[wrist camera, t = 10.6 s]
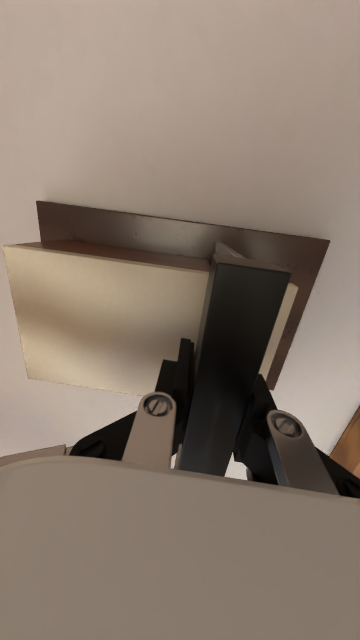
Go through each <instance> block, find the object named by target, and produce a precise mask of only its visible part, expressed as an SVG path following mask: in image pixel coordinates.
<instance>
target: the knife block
mask: <svg viewBox="0 0 360 640" xmlns="http://www.w3.org/2000/svg"><path fill="white" fill-rule="evenodd" d="M329 457H330V458H331V459H333V460H334V461H336V462H337V463H338V464H340V465H341V466H343V467H344V468H345V469H347V470H348V471H349V472H351V473H352V474H354V475H355V476H356V477H358V478H359V479H360V407H359V409H358V410H357V412H356V414H355V415H354V417H353V419H352V420H351V422H350V423H349V425H348V427H347V428H346V430H345V432H344V433H343V435H342V437H341V438H340V440H339V442H338V443H337V445H336V447H335V448H334V450H333V451H332V453H331V455H330V456H329Z"/></svg>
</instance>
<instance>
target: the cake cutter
mask: <svg viewBox="0 0 360 640" xmlns="http://www.w3.org/2000/svg"><path fill="white" fill-rule="evenodd" d="M290 277H291V273H290V272H289V271H287V270H285V269H283V268H281V267H279V266H277V265H275V264H273V263H271V262H268V261H261V260H254V259H247V258H245V257H243V256H242V255H240V254H239V253H237V252H236V251H234V250H233V249H231V248H230V247H228V246H227V245H225V244H224V243H222V242H216V248H215V253H214V254H213V256H212V260H211V266H210V272H209V277H208V283H207V288H206V294H205V299H204V305H203V311H202V316H201V322H200V327H199V333H198V338H197V344H196V349H195V355H194V361H193V382H192V394H191V400H190V405H189V410H188V416H187V421H186V426H185V432H184V437H183V442H182V444H179V449H178V452H177V455H176V461H175V466H174V469H177V470H184V471H190V472H197V473H203V474H209V475H216V476H222V477H224V476H225V473H226V470H227V467H228V464H229V461H230V458H231V455H232V452H233V449H234V446H235V443H236V440H237V437H238V434H239V431H240V428H241V425H242V422H243V419H244V416H245V413H246V410H247V407H248V404H249V401H250V398H251V395H252V392H253V389H254V386H255V383H256V380H257V377H258V374H259V371H260V368H261V365H262V362H263V359H264V356H265V353H266V350H267V347H268V344H269V341H270V338H271V335H272V332H273V329H274V326H275V323H276V320H277V317H278V314H279V311H280V308H281V305H282V301H283V298H284V295H285V292H286V289H287V286H288V283H289V280H290Z"/></svg>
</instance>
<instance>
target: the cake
mask: <svg viewBox="0 0 360 640" xmlns="http://www.w3.org/2000/svg"><path fill="white" fill-rule="evenodd" d="M36 205H37V212H38V220H39V228H40V236H41V242H34V243H24V244H15V245H14V244H12V245H3V252H4V257H5V262H6V267H7V272H8V277H9V282H10V287H11V293H12V298H13V303H14V308H15V313H16V318H17V323H18V329H19V334H20V339H21V344H22V349H23V354H24V359H25V365H26V370H27V375H28V378H29V379H35V380H42V381H48V382H55V383H61V384H67V385H74V386H80V387H87V388H93V389H100V390H106V391H113V392H119V393H125V394H132V395H138V396H145V395H147V394H149V393H152V392H154V391H155V388H156V384H157V380H158V376H159V372H160V369H161V365H162V361H163V359H165V360H171V361H177V360H178V354H179V347H180V341H181V338H186V339H191V342H194V355H195V349H196V344H197V338H198V333H199V327H200V322H201V316H202V311H203V305H204V299H205V294H206V288H207V283H208V277H209V272H210V266H211V260H212V256H213V254H214V253H215V248H216V242H222V243H224V244H225V245H227V246H228V247H230V248H231V249H233V250H234V251H236V252H237V253H239V254H240V255H242V256H243V257H245V258H247V259H254V260H261V261H268V262H271V263H273V264H275V265H277V266H279V267H281V268H283V269H285V270H287V271H289V272H290V273H291V277H290V280H289V282H290V283H292V284H294V285H295V286H297V287H298V290H297V293H296V296H295V299H294V302H293V304H292V307H291V310H290V313H289V316H288V319H287V321H286V324H285V327H284V330H283V333H282V336H281V338H280V341H279V344H278V347H277V350H276V353H275V355H274V358H273V361H272V364H271V367H270V369H269V372H268V375H267V378H266V381H265V382H266V384H267V386H268V389H269V390H274V388H275V385H276V383H277V380H278V377H279V375H280V372H281V370H282V367H283V364H284V362H285V359H286V356H287V354H288V351H289V349H290V346H291V343H292V341H293V338H294V335H295V333H296V330H297V328H298V325H299V322H300V320H301V317H302V314H303V312H304V309H305V306H306V304H307V301H308V299H309V296H310V293H311V291H312V288H313V285H314V283H315V280H316V278H317V275H318V272H319V270H320V267H321V264H322V262H323V259H324V257H325V254H326V251H327V249H328V246H329V243H330V240H324V239H317V238H310V237H302V236H295V235H288V234H280V233H273V232H266V231H258V230H251V229H243V228H236V227H229V226H221V225H214V224H207V223H199V222H192V221H185V220H177V219H170V218H162V217H155V216H148V215H140V214H133V213H126V212H118V211H111V210H104V209H96V208H89V207H81V206H74V205H67V204H59V203H52V202H45V201H36Z"/></svg>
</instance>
